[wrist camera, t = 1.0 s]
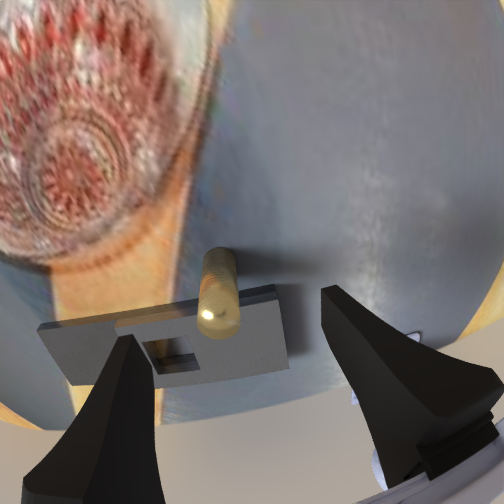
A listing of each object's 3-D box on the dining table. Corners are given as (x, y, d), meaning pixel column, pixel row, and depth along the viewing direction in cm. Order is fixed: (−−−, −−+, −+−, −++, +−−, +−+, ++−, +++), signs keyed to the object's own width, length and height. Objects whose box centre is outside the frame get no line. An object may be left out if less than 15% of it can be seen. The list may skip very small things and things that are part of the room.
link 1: (225, 362, 31) (225, 371, 30) (74, 378, 31) (71, 385, 30) (204, 297, 27) (203, 305, 26) (40, 323, 27) (36, 330, 26)
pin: (238, 272, 27) (244, 335, 19) (207, 278, 27) (203, 342, 19) (231, 244, 25) (235, 301, 18) (199, 250, 25) (191, 309, 18)
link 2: (285, 351, 31) (289, 368, 29) (150, 372, 31) (147, 389, 29) (274, 283, 27) (278, 299, 25) (120, 311, 27) (113, 328, 25)
